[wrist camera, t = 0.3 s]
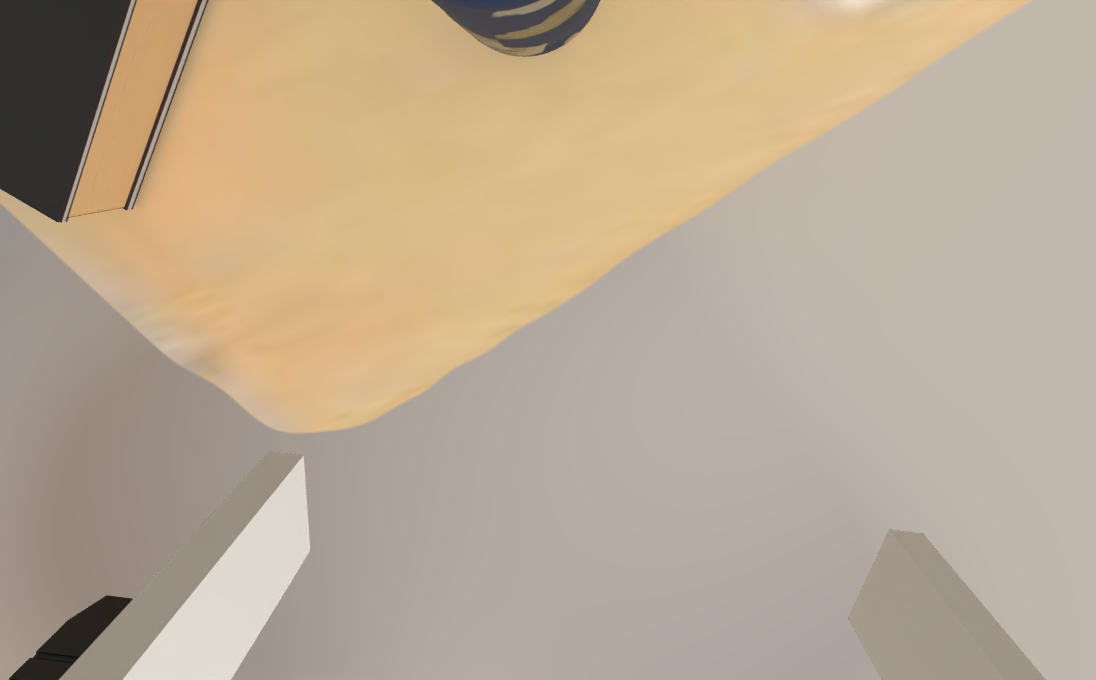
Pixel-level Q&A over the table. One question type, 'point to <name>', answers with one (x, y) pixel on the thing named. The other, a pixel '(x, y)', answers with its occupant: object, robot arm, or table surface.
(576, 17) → the canister
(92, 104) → the book
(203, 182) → the table surface
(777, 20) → the table surface
